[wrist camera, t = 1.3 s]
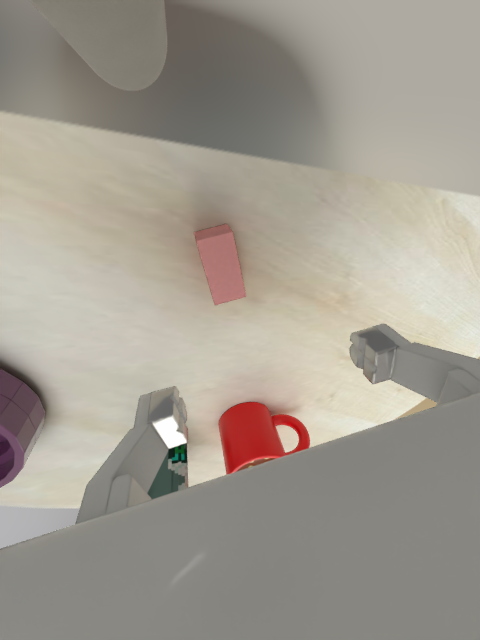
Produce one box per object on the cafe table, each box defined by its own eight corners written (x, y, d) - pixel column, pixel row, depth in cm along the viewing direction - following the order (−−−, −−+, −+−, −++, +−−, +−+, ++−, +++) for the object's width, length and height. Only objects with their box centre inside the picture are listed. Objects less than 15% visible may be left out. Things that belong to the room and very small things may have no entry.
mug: (296, 422, 41) (319, 471, 34) (223, 442, 39) (232, 497, 33) (296, 389, 36) (322, 438, 30) (214, 410, 35) (222, 467, 28)
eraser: (193, 232, 22) (196, 241, 20) (226, 223, 22) (233, 231, 20) (211, 291, 26) (214, 305, 23) (239, 283, 26) (246, 296, 23)
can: (185, 452, 39) (189, 589, 26) (142, 456, 37) (125, 605, 25) (187, 426, 36) (192, 568, 23) (141, 430, 34) (120, 584, 22)
